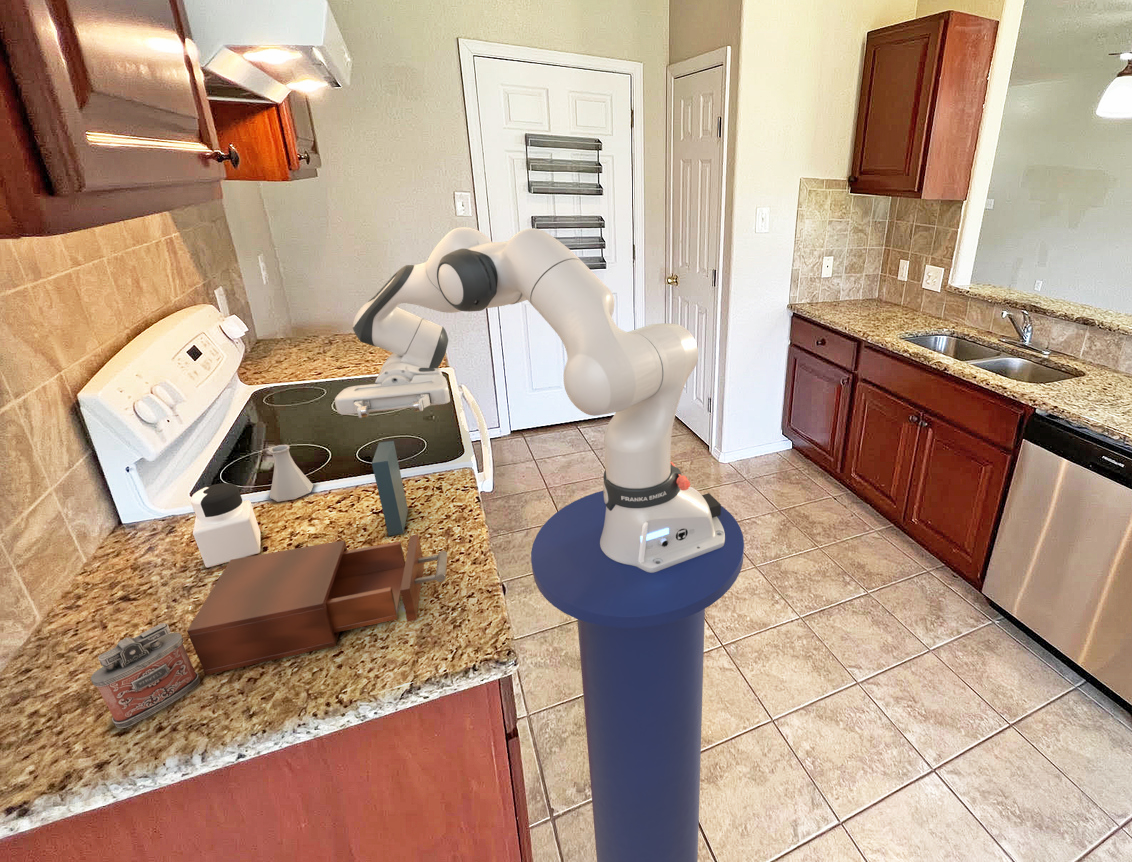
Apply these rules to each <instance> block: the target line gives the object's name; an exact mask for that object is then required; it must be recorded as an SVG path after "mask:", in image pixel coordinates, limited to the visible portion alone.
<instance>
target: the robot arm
mask: <svg viewBox="0 0 1132 862" xmlns="http://www.w3.org/2000/svg"><path fill="white" fill-rule="evenodd" d="M525 301H527V302H529V304H530V305H531V306H532V307H533V308H534V310H536V311H537V313H538V314H539V315H541V317H542V318H543V320H544V321H546V322H547V324H548V325H549V327H551V329H552V330H553V331H554V332H555V334H557V336H558V337H559V338H560V340H561V342H562V344H563V347H564V349H565V351H566V358H567V359H566V362H565V366H564V369H563V386H564V389H565V393H566V395H567V397H568V399H569V400H570V402H571V403H572V405H573V406H575V408H576V409H578V410H579V411H581V412H582V413H583V414H586V415H588V416H592V417H593V416H594V417H595V416H596V417H597V416H603V415H609V414H613V413H614V415H613V416H612V418H611V419H610V420H609V422H608V424H607V425H606V428H605V431H604V435H603V444H604V446H603V447H604V461H605V462H604V464H605V465H604V466H605V469H604V471H603V482H602V489H603V490H602V491H603V493H604V502H605V504H606V514H605V522H604V528H603V532H602V535H601V538H600V547H601V549H602V551H603V552H604V554H605V555H606V556H608V557H609V558H610V559H612V560H614V561H616V562H619V563H622V564H627V565H632V566H636V567H638V568H640V569H642V570H644V571H646V572H649V573H654V572H657V571H660V570H662V569H665V568H668V567H670V566H673V565H676V564H679V563H681V562H684V561H687V560H689V559H692V558H695V557H697V556H700V555H703V554H705V553H708V552H711V551H713V550H716V549H719V548H721V547H723V546H724V543H725V533H724V529H723V526H722V524H721V522H720V521H719V519H718V518H717V516H720V515H721V506H722V504H721V503H720V502H719V501H718V500H717V499H716V498H715V497H714V496H713V495H712V494H711V493H709V492H708V493H705V494H702V493H700V491H698V490H697V489H696V488H694V487H692V486H691V481H690V480H689V479H688V477H687V476H686V475H682V471H681V470H680V468H679V467H677V466H676V465H675V463H674V462H672V461H671V460H672V455H671V454H672V453H671V451H672V434H673V427H674V422H675V418H676V414H677V411H678V407H679V405H680V404H679V403H680V400H681V397H682V393H683V391H684V388H685V385H686V383H687V381H688V379H689V378H690V376H691V374H692V372H693V371H694V369H695V368H696V367H697V365H698V361H699V347H698V345H697V341H696V339H695V338H694V336H693V334H692V333H691V332H690V331H689V329H687V328H686V327H684V326H683V325H680V324H679V323H666V322H665V323H663V322H662V323H651V324H648V325H645V326H642V327H639V328H636V329H633V330H629V331H625V330H623V329H621V328H620V327H619V326H618V324H616V322H615V320H614V319H613V314H614V310H615V297H614V294H613V292H612V291H611V289H610V288H609V287H608V286H607V285H606V284H605V283H604V282H603V281H602V280H601V279H600V277H598V276H597V275H596V274H595V273H594V272H593V270H591V269H590V268H589V266H588V265H586V263H585V262H583V260H582V259H580V258H579V256H578V255H576V254H575V253H574V251H572V250H571V249H570V248H569V247H568V246H566V245H565V244H563V243H562V242H561V241H560V240H558V239H557V238H556V237H554V236H552V235H551V234H550V233H548V232H547V231H545V230H543V229H539V228H534V227H531V228H524V229H522V230H520V231H518V232H516V233H515V234H514V235H513V236H511V237H510V239H509V240H505V241H492V240H491V239H490V237H488V236H487V235H486V234H485V233H483V232H482V231H480V230H478V229H475V228H474V227H469V226H468V227H467V226H461V227H456V228H453V229H452V230H450V231H449V232H447V233H446V234H445V235H444V236H443V237H442V238H441V240H440V241H439V242H438V243H437V244H436V246H435V247H434V248H433V250H432V251H431V253H430V255H429V257H428V259H427V261H425V262H422V263H419V264H405V265H404V266H402V267H400V268H399V269H398V270H397V271H396V272H395V273H394V274H393V275H392V276H391V277H390V278H389V279H388V280H387V281H386V283H385V284H384V285H383V286H382V287H381V288H380V289H379V290H378V291H377V293H375V295H374V296H373V297H371V298H370V299H369V300H368V301H367V302H366V303H365V304H363V305H362V306H361V307H360V308H359V310H358V311H357V312H356V314H355V316H354V319H353V322H352V330H353V333H354V334H355V336H356V338H357V339H358V340H359V342H360V343H364V344H365V345H370V346H372V347H377V348H380V349H382V350H385V351H387V352H390V353H391V354H390V355H389V356H388V357H387V358H386V359H385V361H384V362H383V364H382V366H381V370H380V371H379V373H378V375H377V377H376V379H375V381H374V383H369V384H360V385H351V386H348V387H345V388H344V389H342V390H341V391H340V392H339V393H338V394H337V395H336V396H335V398H334V405H335V408H336V412H337V414H339V415H342V416H348V415H357V417H358V418H359V419H363V418H369V416H370V413H375V412H384V411H392V410H403V409H404V410H405V409H413V412H414V413H416V412H417V413H419V412H424V409H426V408H427V407H430V406H438V405H446V404H448V403H450V402H451V397H450V390H449V385H448V381H447V378H446V377H445V376H444V375H443V371H442V369H441V368H439V367H440V366H441V364H442V362H443V360H444V358H445V355H446V352H447V349H448V344H449V337H448V333H447V331H446V329H445V327H444V326H442V325H440V324H438V323H436V322H433V321H431V320H428V319H426V318H424V317H421V316H418V315H417V314H415V313H412V312H411V311H410V312H409V311H407V310H406V309H404V308H400V307H398V306H400V305H401V304H410V305H413V306H419V307H423V308H426V309H430V310H433V311H436V312H441V313H446V314H447V313H449V314H452V313H460V312H467V313H469V312H471V313H472V312H481V311H484V310H486V309H491V308H498V307H503V306H509V305H517V304H519V303H523V302H525Z"/></svg>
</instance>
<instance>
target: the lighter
mask: <svg viewBox="0 0 1132 862" xmlns="http://www.w3.org/2000/svg"><path fill="white" fill-rule="evenodd" d="M97 660H98V661H99V663H100V665H101V666H102V667H100V668H98V669H97V670H95V671H94V672H93V673H92V674H91V676H90V681H91V683H92V685H93V686H94V687H97V690H98V691H99V693H100V695H101V698H102V699H103V700H104V703H105V704H106V706H107V708H108V710H109V712H110V714H111V716H112V718H111V720H112V723H113V724H114V726H115V727H116V728H117V729H124V728H128V727H130V726H133V725H134V724H137V723H138V722H140V721H142V720H145V719H146V718H149V717H150V716H152V715H154V714H156V713H157V712H159V711H162V710H163V709H165V708H166V707H168V706H169V705H171V704H172V703H175V702H176V701H178V700H179V699H180V698H182V697H184V696H185V695H186V694H188V693H189V692H191V691H192V690H193V689H195V688H196V687H197V686H198V685H200V682H201V677H200V675H199V673H198V672H197V671H195V669H194V668H195V667H193V663H192V662H191V660H190V656H189V655H188V653H187V650H186V648H185V645H184V637H183V636H182V634H181V633H180V632H172V631H171V629H170V627H169V624H168V623H166V622H165V623H164V622H162V623H159V624H157V625H155V626H153V627H151V628H149V629H147V630H145V631H143V632H141V633H140V634H139V635H137V636H135V637H125V638H123V639H120V641H118V642H117V644H116V646H115V647H113V648H111V649H109V650H107V651H105V652H103V653H101V654H99V655H98V657H97Z"/></svg>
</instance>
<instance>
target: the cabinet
mask: <svg viewBox="0 0 1132 862" xmlns="http://www.w3.org/2000/svg"><path fill="white" fill-rule="evenodd" d="M348 550H349V549H348V546H347V543H346V540H345V539H343V540H339V541H331V542H327V543H326V542H325V543H320V544H315V545H309V546H303V547H298V548H297V547H296V548H291V549H285V550H280V551H274V552H267V553H263V554H255V555H251V556H248V557H244V558H238V559H232V560H230V562H227V565H226V567H225V568H224V569H223V571H222V573H221V575H220V576H219V578H218V580H217V581H216V583H215V585H214V586H213V587H212V589H211V591H210V592H209V594H208V595H207V598H206V599H205V601H204V603H203V604H202V606H201V607H200V608H199V610H198V611H197V614H196V615H195V617H194V619H193V620H192V622H191V624H190V625H189V626H188V628H187V630H186V632H187V635H188V637H189V639H190V642H191V644H192V647H193V649H194V651H195V654H196V656H197V658H198V661H199V663H200V666H201V668H202V670H203V672H204V674H205V676H208V675H213V674H218V673H222V672H226V671H231V670H234V669H238V668H244V667H247V666H253V665H257V664H261V663H265V662H271V661H275V660H278V659H279V660H280V659H284V658H288V657H293V656H298V655H301V654H306V653H310V652H314V651H318V650H324V649H328V648H333V647H336V646H337V642H338V639H339V635H340V632H336V633H334V630H333V627H332V624H331V620H330V617H329V614H328V610H327V607H326V601H327V598H328V595H329V593H330V590H331V587H332V584H333V581H334V578H335V575H336V572H337V569H338V566H339V563H340V560H341V557H342V555H343V552H344V551H348Z"/></svg>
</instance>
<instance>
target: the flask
mask: <svg viewBox="0 0 1132 862" xmlns="http://www.w3.org/2000/svg"><path fill="white" fill-rule="evenodd" d="M290 449H291V447H290V445H289V444H287V443H286V444H278V445H276V446H272V447H270V449H269V450H268V452H269V454H271V455H272V459H273V475H272V482H271V487H270V493H269V498H270V499H272V500H273V501H275V502H284V501H290V500H291V501H292V500H296V499H298V498H300V497H303V496H305V495H308V494H310V493H311V492H312V491H313V487H314V484H313V482H312V481H310V479H309V478H308V477H307V476H306V474H305V473H304V472H303V471H302V470H301V469H300V468H299V466H298V465H297V464H296V463H295V461H294V459H293V457H292V455H291V454H290Z"/></svg>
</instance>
